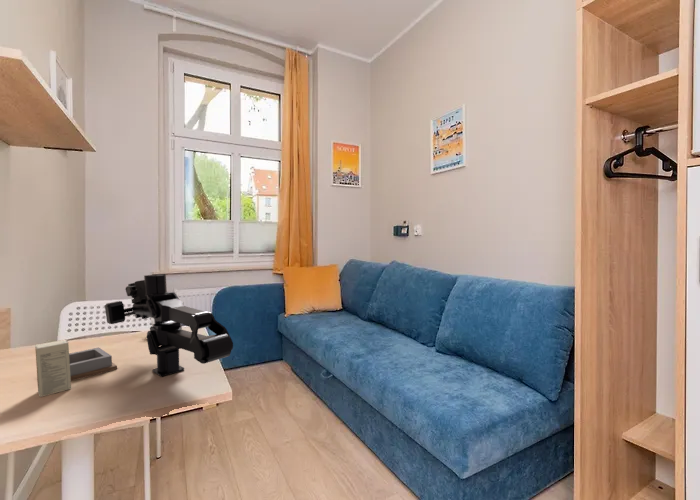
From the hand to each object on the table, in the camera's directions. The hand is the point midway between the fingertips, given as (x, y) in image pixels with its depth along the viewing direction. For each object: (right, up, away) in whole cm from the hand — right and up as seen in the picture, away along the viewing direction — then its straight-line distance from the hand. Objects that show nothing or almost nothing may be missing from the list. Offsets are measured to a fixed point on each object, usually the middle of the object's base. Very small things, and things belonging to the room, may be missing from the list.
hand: (128, 305), depth 114 cm
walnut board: (-5, -17, -14) cm, 22 cm away
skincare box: (-2, -17, -27) cm, 32 cm away
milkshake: (-3, -15, +23) cm, 28 cm away
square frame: (-5, -16, -14) cm, 21 cm away
